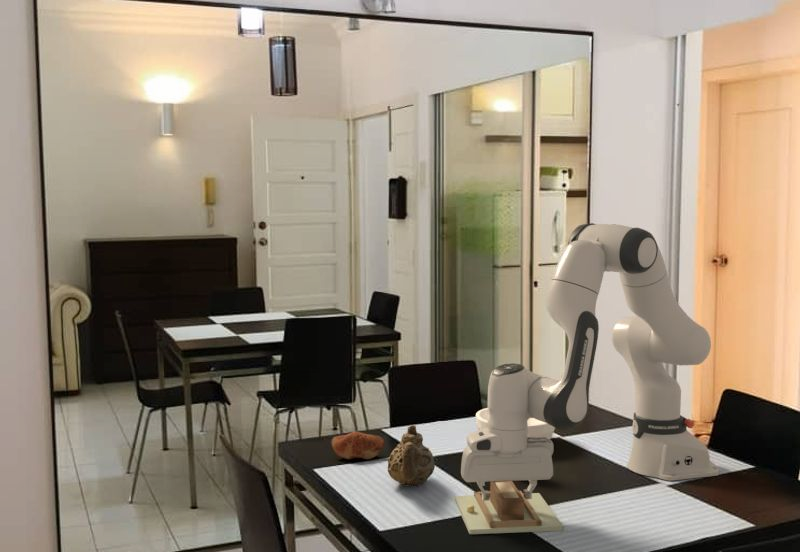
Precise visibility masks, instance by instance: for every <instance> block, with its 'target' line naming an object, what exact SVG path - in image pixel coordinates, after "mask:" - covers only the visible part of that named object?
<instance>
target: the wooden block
mask: <svg viewBox="0 0 800 552" xmlns="http://www.w3.org/2000/svg"><path fill="white" fill-rule="evenodd" d="M489 482H490V483H489V484H490V486H489V487H490V489H489V491H490V501H491V503H492V505H493V507H494V509H495V510H496V512H497V514H498V516H499V518H500V519H501V521H511V520H524V498H523V497H522V495H521V494H520V492H519V491H518V490H519V489H518V488H517V486H516V485H515V483H514V481H489Z"/></svg>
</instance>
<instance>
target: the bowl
mask: <svg viewBox="0 0 800 552" xmlns="http://www.w3.org/2000/svg"><path fill="white" fill-rule="evenodd" d="M488 419H489V409H488V407H486V408H485V407H484V408H482V409H480V410H478V411H477V412H476V413H475V420H476V421H475V422H476V427H477V429H478V430H477V431H479V430H482V429H484V428H487V423H488ZM527 423H528V437H536V438H541V437H547V439H550V440H551V439H552V437H553V434H554V431H555V430H556V428H555V427H553V426H551V425H549V424H548V423H545V422H542V421H540V420H537V419H535V418H529V419H528V421H527ZM547 442H549V441H547Z"/></svg>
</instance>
